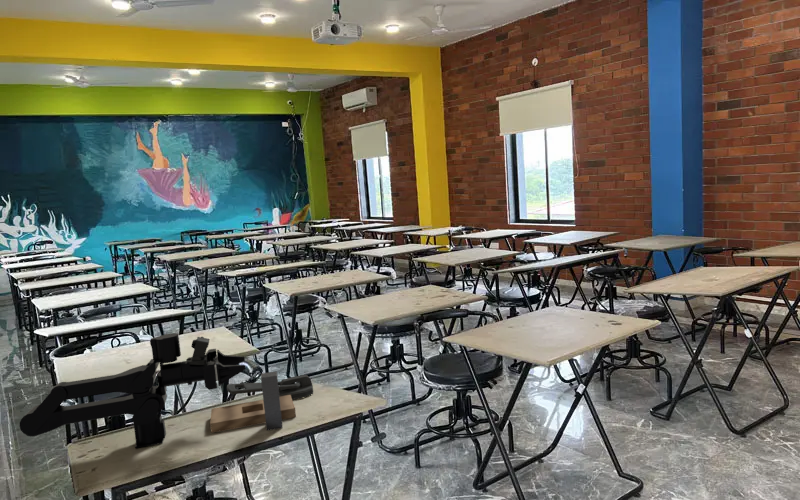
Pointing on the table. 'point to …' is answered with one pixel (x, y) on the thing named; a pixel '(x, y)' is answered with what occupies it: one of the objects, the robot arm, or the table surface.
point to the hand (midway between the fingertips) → (245, 362)
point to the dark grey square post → (271, 400)
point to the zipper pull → (285, 387)
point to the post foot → (247, 414)
